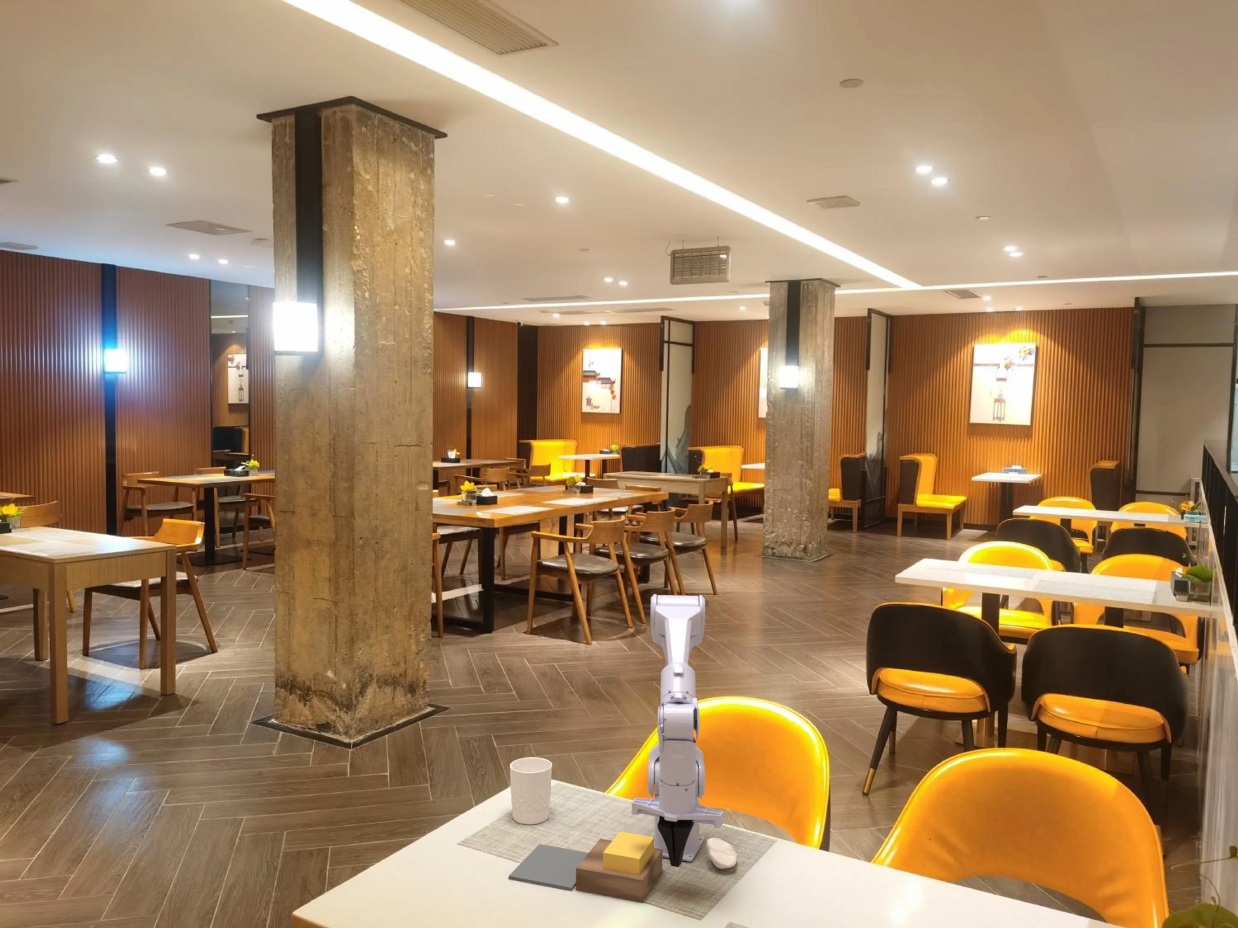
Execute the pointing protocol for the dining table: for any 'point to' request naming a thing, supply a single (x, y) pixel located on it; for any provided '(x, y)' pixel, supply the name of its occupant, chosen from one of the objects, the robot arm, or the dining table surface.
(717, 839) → the dumpling
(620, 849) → the yellow cuboid
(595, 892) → the brown cuboid
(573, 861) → the mat
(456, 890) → the dining table surface
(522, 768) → the white cup
